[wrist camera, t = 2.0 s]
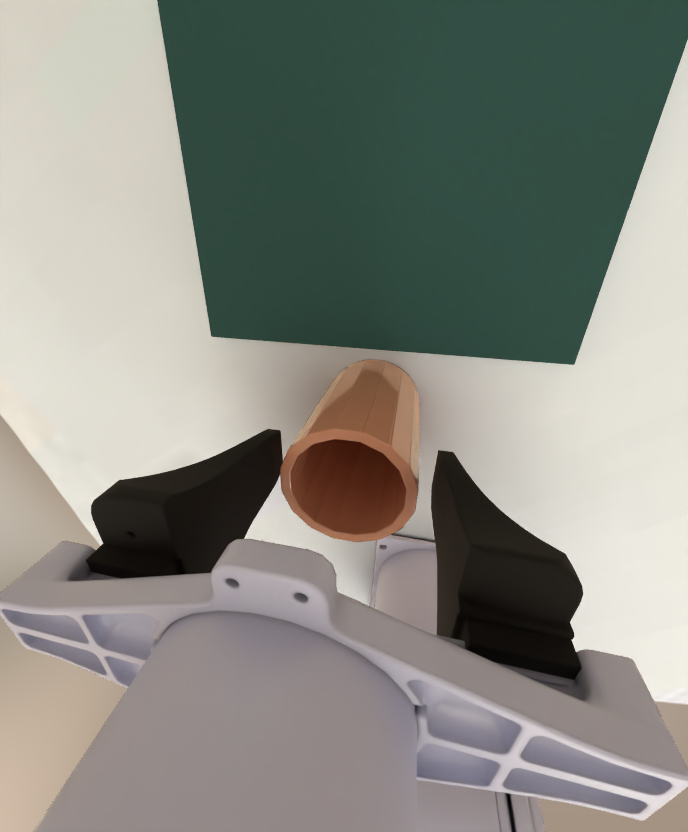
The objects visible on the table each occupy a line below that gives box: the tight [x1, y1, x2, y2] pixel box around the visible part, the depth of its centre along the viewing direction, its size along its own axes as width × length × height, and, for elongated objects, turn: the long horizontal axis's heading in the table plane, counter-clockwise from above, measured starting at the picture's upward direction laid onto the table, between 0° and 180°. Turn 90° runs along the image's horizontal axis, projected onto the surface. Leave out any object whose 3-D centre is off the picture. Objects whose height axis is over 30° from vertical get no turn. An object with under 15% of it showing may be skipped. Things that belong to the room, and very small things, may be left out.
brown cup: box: [280, 360, 420, 542], centre depth 17 cm, size 6×6×8 cm
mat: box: [157, 0, 688, 365], centre depth 14 cm, size 20×20×1 cm
